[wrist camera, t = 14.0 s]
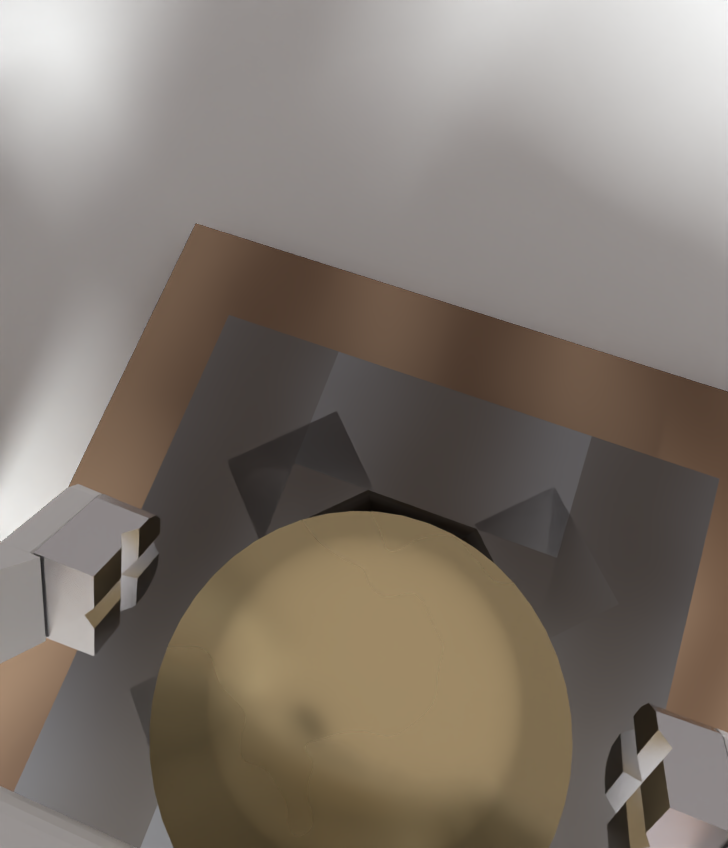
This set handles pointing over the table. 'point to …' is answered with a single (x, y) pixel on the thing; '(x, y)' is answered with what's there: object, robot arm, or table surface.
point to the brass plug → (360, 698)
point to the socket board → (413, 354)
